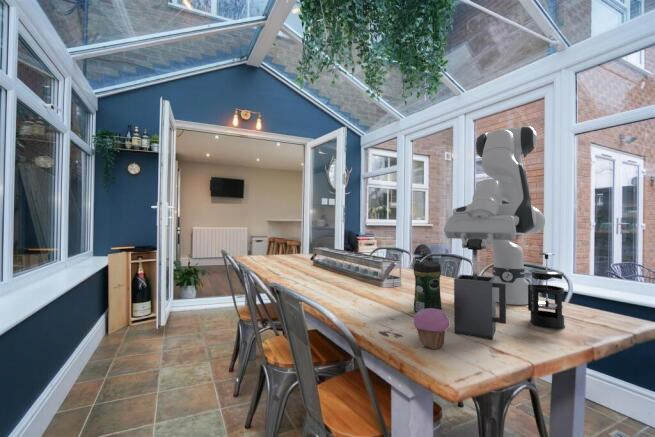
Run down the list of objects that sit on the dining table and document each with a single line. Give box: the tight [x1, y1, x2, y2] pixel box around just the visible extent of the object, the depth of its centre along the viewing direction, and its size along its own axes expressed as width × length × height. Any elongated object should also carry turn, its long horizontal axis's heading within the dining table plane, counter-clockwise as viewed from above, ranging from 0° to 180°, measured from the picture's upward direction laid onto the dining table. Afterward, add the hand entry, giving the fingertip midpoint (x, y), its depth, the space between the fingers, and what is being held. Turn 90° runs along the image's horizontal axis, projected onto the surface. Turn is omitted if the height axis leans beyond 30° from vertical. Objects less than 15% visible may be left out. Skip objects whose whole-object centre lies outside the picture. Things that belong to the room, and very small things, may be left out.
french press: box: [527, 252, 566, 330], centre depth 103 cm, size 12×9×23 cm
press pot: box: [453, 273, 507, 341], centre depth 95 cm, size 10×13×16 cm
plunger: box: [467, 239, 483, 280], centre depth 96 cm, size 8×8×16 cm
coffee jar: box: [413, 260, 443, 313], centre depth 117 cm, size 10×8×19 cm
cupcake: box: [413, 308, 450, 350], centre depth 84 cm, size 9×9×10 cm
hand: (474, 247), depth 95 cm, fingers closed on plunger, 4 cm apart
